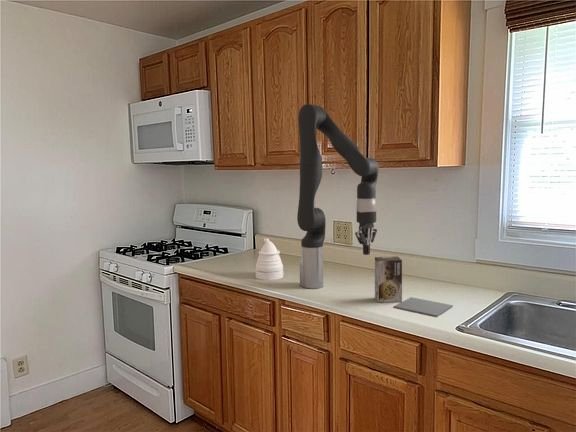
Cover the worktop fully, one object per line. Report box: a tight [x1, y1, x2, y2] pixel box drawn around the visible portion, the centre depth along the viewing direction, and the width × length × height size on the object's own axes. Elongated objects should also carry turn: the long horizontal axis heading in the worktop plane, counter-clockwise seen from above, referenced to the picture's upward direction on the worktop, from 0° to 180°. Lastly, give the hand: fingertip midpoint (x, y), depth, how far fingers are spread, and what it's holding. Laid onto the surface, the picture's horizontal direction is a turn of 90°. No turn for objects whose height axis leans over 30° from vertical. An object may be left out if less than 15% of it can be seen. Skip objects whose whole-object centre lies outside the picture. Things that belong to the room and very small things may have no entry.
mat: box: [393, 296, 454, 318], centre depth 159 cm, size 16×14×1 cm
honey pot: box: [255, 237, 284, 281], centre depth 205 cm, size 13×13×18 cm
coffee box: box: [374, 255, 403, 303], centre depth 167 cm, size 9×6×16 cm
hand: (366, 254), depth 172 cm, fingers closed
